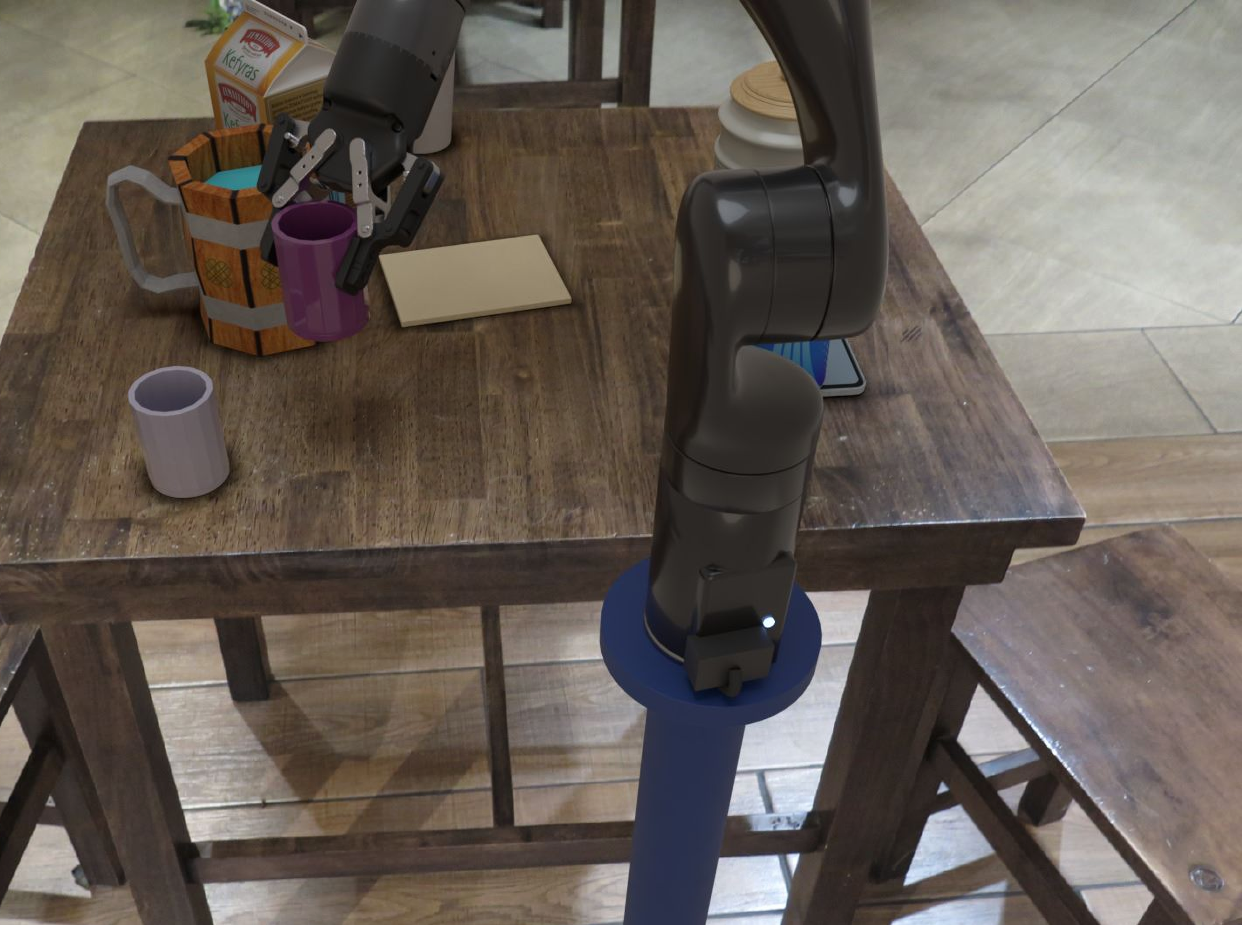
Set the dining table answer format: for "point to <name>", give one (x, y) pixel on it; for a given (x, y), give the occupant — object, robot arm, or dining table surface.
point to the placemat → (472, 280)
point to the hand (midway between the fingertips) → (307, 277)
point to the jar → (758, 122)
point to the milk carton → (267, 72)
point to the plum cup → (317, 270)
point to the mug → (218, 237)
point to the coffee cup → (439, 118)
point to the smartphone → (842, 371)
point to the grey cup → (179, 431)
